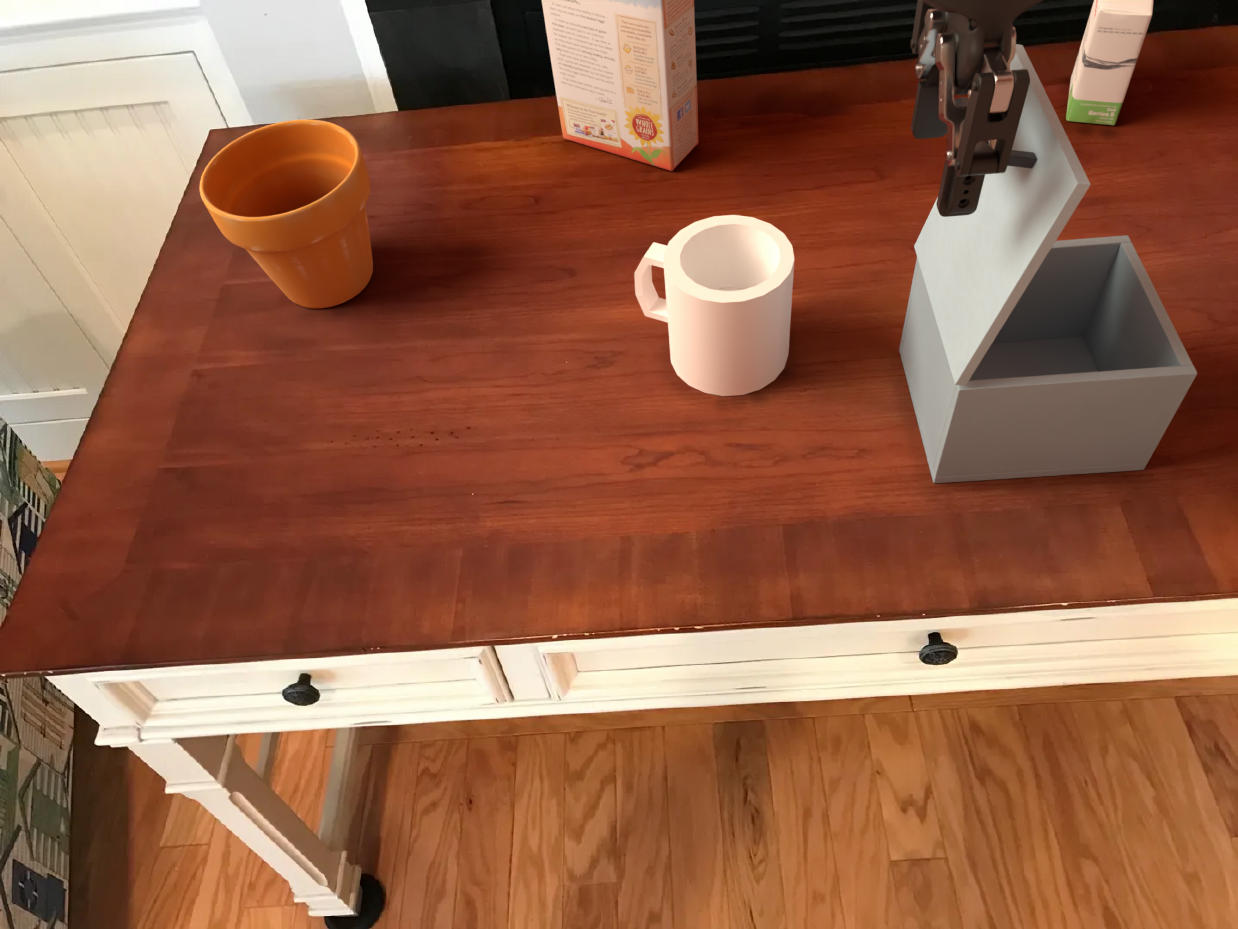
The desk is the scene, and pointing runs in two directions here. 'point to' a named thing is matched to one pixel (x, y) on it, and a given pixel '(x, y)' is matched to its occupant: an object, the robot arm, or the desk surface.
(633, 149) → the cracker box
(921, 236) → the freezer lid
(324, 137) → the flower pot
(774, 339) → the mug
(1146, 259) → the desk surface
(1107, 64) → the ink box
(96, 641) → the desk surface
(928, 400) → the chest
